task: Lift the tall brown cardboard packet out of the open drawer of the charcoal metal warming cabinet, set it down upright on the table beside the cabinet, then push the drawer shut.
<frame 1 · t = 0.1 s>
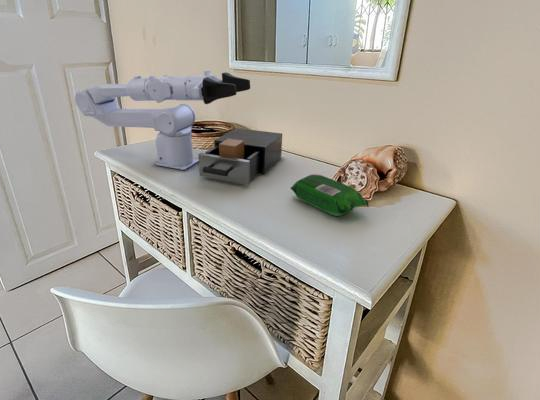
hand: (242, 87, 75), 22 cm above the table, tool horizontal, fingers open, 7 cm apart
warmer: (248, 162, 93), on the table
snack package: (325, 206, 70), on the table
drawer: (230, 163, 82), point 4 cm above the table, slide at 8.0 cm, touching packet
packet: (232, 169, 84), point 2 cm above the table, touching drawer
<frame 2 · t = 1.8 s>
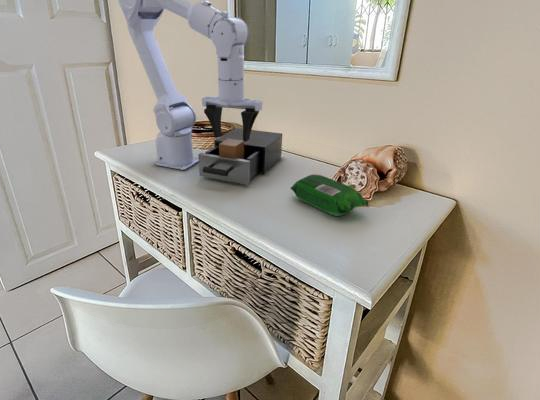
hand: (231, 138, 80), 10 cm above the table, tool pointing down, fingers open, 7 cm apart
nothing on the table moved.
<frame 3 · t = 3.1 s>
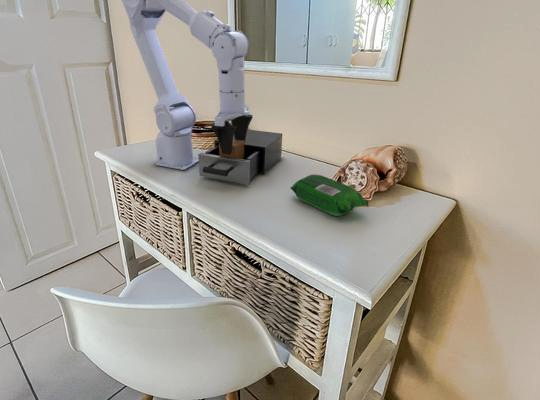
hand: (233, 148, 81), 7 cm above the table, tool pointing down, fingers open, 7 cm apart
nothing on the table moved.
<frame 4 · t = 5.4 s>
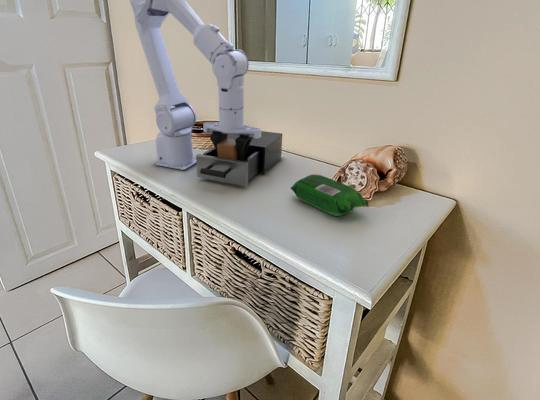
hand: (231, 162, 83), 4 cm above the table, tool pointing down, fingers closed on packet, 4 cm apart
drawer: (228, 165, 81), point 4 cm above the table, slide at 9.0 cm
packet: (230, 169, 83), point 2 cm above the table, touching gripper
everything else where it was.
when the fingers open (2 cm above the table, at t = 10.6 s): packet stays where it is, on the table.
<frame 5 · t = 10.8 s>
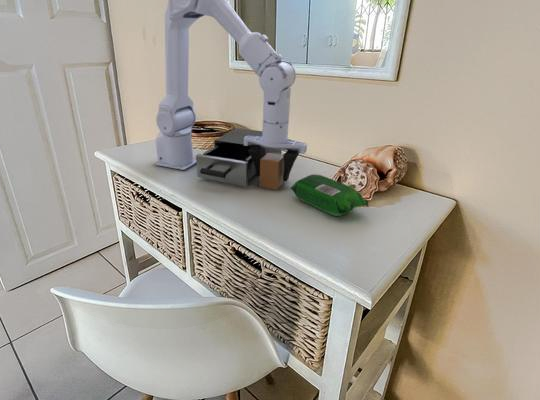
hand: (272, 177, 79), 2 cm above the table, tool pointing down, fingers open, 6 cm apart
drawer: (228, 165, 81), point 4 cm above the table, slide at 9.0 cm, touching gripper
packet: (271, 184, 80), on the table
everything else where it was.
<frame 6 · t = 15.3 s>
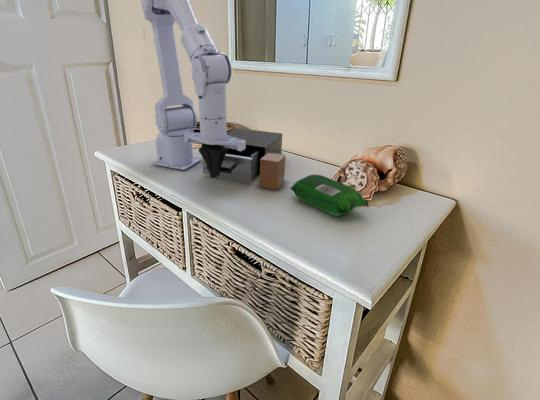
hand: (215, 176, 76), 3 cm above the table, tool pointing down, fingers closed, pressing on drawer
drawer: (233, 161, 84), point 4 cm above the table, slide at 6.1 cm, touching gripper
everything else where it was.
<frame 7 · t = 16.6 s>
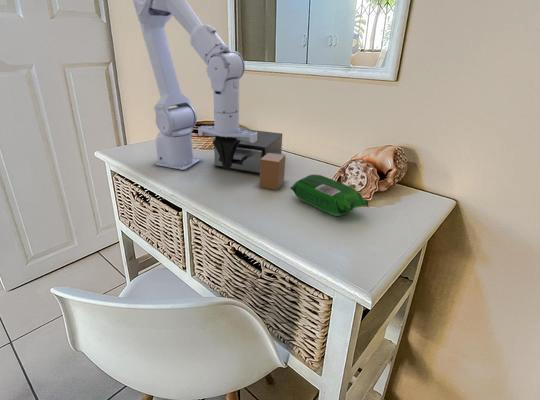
hand: (227, 167, 81), 3 cm above the table, tool pointing down, fingers closed, pressing on drawer
drawer: (243, 153, 89), point 4 cm above the table, slide at 0.0 cm, touching gripper, warmer
everything else where it was.
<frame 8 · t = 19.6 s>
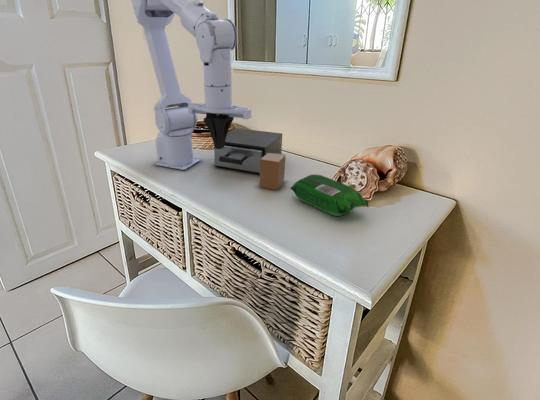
hand: (219, 147, 75), 9 cm above the table, tool pointing down, fingers closed
drawer: (243, 153, 89), point 4 cm above the table, slide at 0.0 cm, touching warmer
everything else where it was.
at the end: packet 0.6 cm from the target spot, on the table; packet tilted 0°; drawer slide at 0.0 cm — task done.
